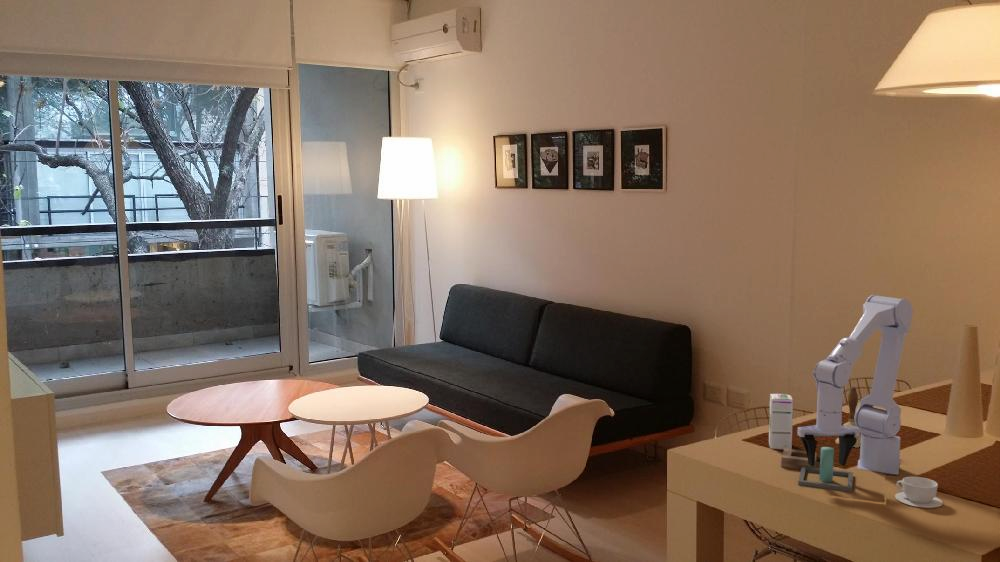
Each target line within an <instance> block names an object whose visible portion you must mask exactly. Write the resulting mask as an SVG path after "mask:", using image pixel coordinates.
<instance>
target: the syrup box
mask: <svg viewBox="0 0 1000 562" xmlns="http://www.w3.org/2000/svg"><path fill="white" fill-rule="evenodd" d="M793 402H794V399H793V397H792V395H791V394H787V393H770V394H769V417H768V418H769V422H768V426H769V427H768V445H769V449H772V450H784V448H786V449H793V448H792V447H793V446H792V444H793V421H794V420H793V417H794V416H793V414H794V413H793V412H794V410H793V408H794V406H793V405H794V403H793Z"/></svg>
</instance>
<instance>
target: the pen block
mask: <svg viewBox="0 0 1000 562" xmlns="http://www.w3.org/2000/svg"><path fill="white" fill-rule="evenodd" d="M817 453H818V452H817V451H815V465H814V466H811V465H809V464H808V458H807V453H806V450H801V449H793V448H792V449H786V448H784V449H783V451H782V455H781V462H780V463H781V464H780V467H781V468H787V469H796V470H801V468H802V466H807V467H815V468H816V465H817V455H818V454H817Z"/></svg>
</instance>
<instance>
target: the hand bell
mask: <svg viewBox="0 0 1000 562" xmlns="http://www.w3.org/2000/svg"><path fill="white" fill-rule="evenodd" d="M858 402H859V394H858V392H857V387H855V386H851V387H850V389H849V392H848V395H847V404H848V409H849V413H848V421H847V422H845V423H843V425H842V426H856V424H855V420H854V416H855V412H856V410H857V408H858V407H857V406H858ZM856 427H857V426H856ZM855 438H856V439H857V441H856V444H855V445H854V446H853V447H855V448H856V449H860V448H859V447H861V432H859V436H855ZM834 443H835V444H836V445H838V444H839V437H837V438H836V439H835V441H834ZM855 448H854V449H855Z"/></svg>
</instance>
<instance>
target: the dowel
mask: <svg viewBox="0 0 1000 562" xmlns="http://www.w3.org/2000/svg"><path fill="white" fill-rule="evenodd" d="M819 458H820V461H819V468H820V473H819V478H818V479H819V480H818V481H819V482H821V483H832V482H833V481H834V480H833V479H834V477H833V476H834V475H833V470H834V461H835V460H834V458H835V448H833V447H830V446H822V447H820V457H819Z"/></svg>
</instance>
